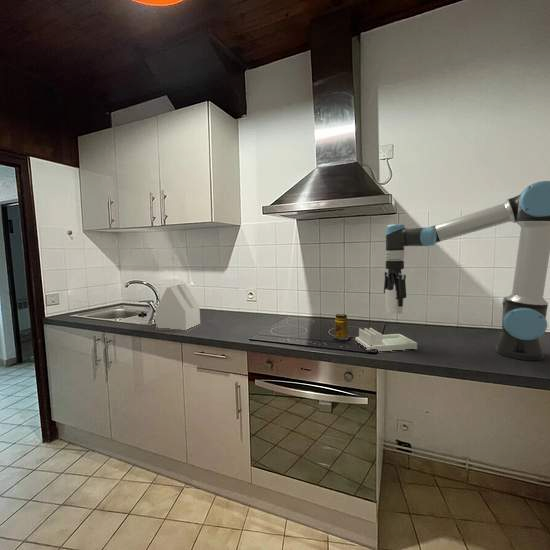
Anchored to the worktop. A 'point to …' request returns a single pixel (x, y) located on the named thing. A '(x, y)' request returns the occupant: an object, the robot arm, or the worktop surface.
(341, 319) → the condiment
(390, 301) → the white cup
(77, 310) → the worktop surface
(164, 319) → the white house-shaped block
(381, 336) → the dish rack
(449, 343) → the worktop surface
